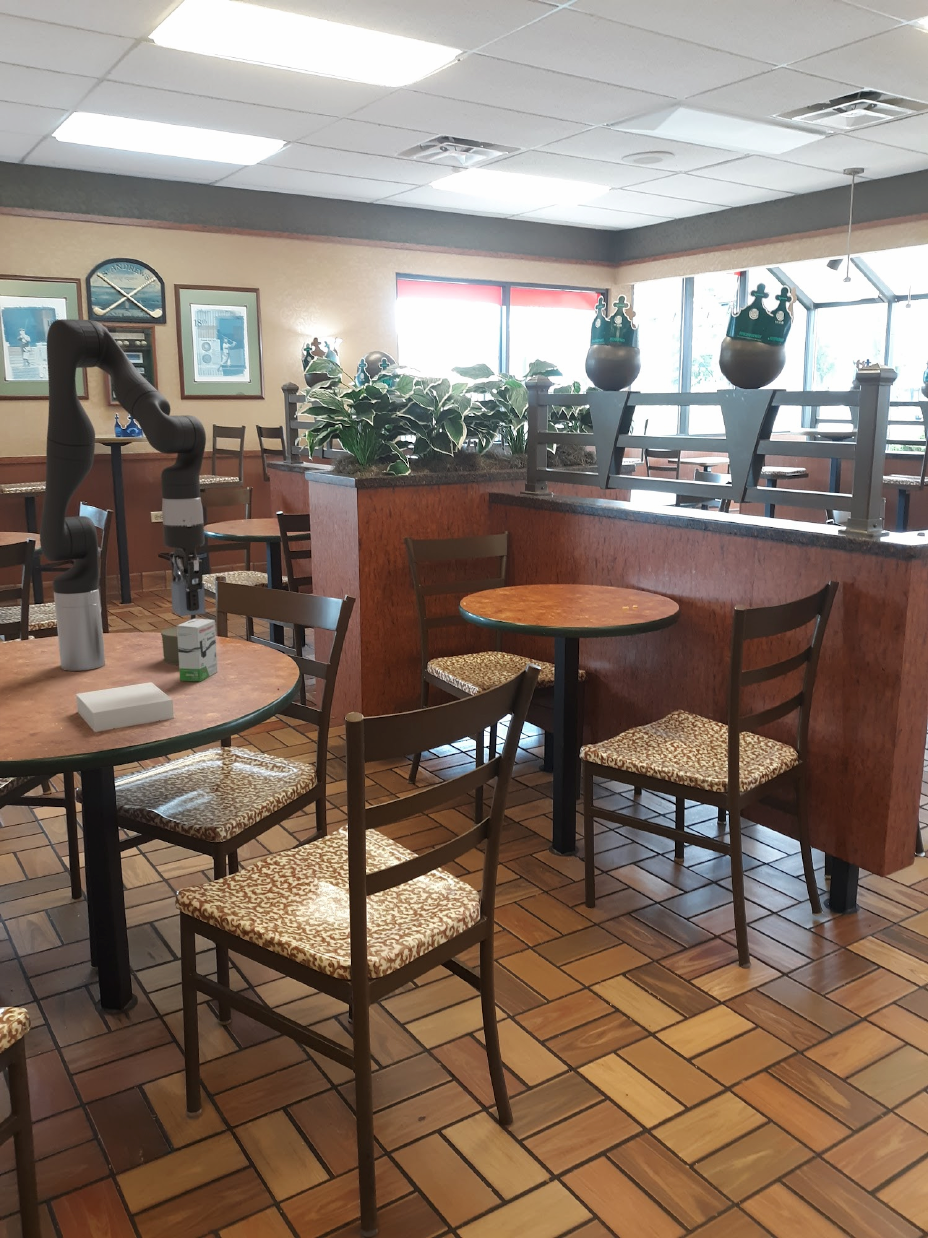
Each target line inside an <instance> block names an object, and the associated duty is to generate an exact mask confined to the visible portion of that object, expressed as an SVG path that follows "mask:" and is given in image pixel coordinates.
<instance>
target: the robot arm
mask: <svg viewBox="0 0 928 1238" xmlns="http://www.w3.org/2000/svg"><path fill="white" fill-rule="evenodd" d="M46 359H47V360H46V362H47V375H48V381H47V382H48V419H47V421H48V422H47V430H46V432H47V433H46V451H45V452H46V454H45V455H46V458H45V460H46V463H45V465H46V466H45V467H46V469H45V471H46V472H45V487H44V488H45V489H44V498H43V506H42V513H41V519H40V527H39V528H40V529H39V544H40V548H41V553H42V555H43V556H44V558H45V559H46V560H47V561H50V562H62V561H71V560H74V562H73V565H72V566H71V567H70V568H69V569H68V570H67V571H65V572H64V573H61V574H59V575H58V576H55V577H54V578H53V581H52V589H53V598H54V608H55V609H54V610H55V617H56V618H55V619H56V626H57V627H56V628H57V637H58V648H59V659H60V668H61V669H62V670H64V671H69V672H70V671H72V672H73V671H74V672H77V671H88V670H93V669H98V668H101V667H104V666H105V664H106V657H105V643H104V634H103V621H102V612H101V610H102V608H101V602H100V601H101V598H100V590H99V579H100V578H99V577H100V569H99V568H100V567H99V563H100V562H99V540H98V532H97V529H96V526H95V524H94V521H93V520H92V519H91V518H90V517H89V516H85V515H84V516H83V515H77V516H76V515H75V516H67V517H66V514H67V510H68V507H69V503H70V502H71V499H72V497H73V496H74V494H75V492H76V491H77V490H78V488H79V487H80V486H81V484H83V481H85V479H86V477H87V476H88V474H89V473H90V471H91V470H92V467H93V465H94V459H95V448H96V431H95V427H94V426H93V423H92V421H91V419H90V417H89V416H88V414H87V412H86V410H85V408H84V407H83V405H82V403H81V401H80V399H79V396H78V392H77V385H76V382H77V381H76V377H77V376H76V375H77V368H78V369H80V368H81V369H83V368H85V369H86V368H96V367H97V368H99V369H100V370H102V371H103V372H105V373H106V374H107V375H109V376H110V377H111V380H112V389H113V394H114V396H115V399H116V401H117V402H118V404H120V406H121V407H122V408H123V410H125V412H127V414H129V415H130V416H131V418H133V420H135V421H136V422H137V423H138V425H139V427H140V429H141V430H142V432H143V435H144V436H145V438H146V440H147V442H148V443H149V445H150V446H151V447H152V448H153V449H154V450H155V451H158V452H160V453H162V454H166V455H171V454H172V455H173V454H177V456H176V460H175V462H174V464H172V465H170V466H167V467H165V468H163V470H162V471H161V475H160V477H161V479H160V480H161V481H160V482H161V494H162V495H161V496H162V504H161V505H162V506H161V507H162V508H161V513H162V515H161V516H162V529H163V542H164V546H165V547H167V548H171V549H174V550H173V552H169V554H168V555H169V561H170V568H171V569H170V570H171V577H172V578H171V579H172V582H174V581H184V584H185V590H186V602H187V610H189V611H196V610H198V609H199V597H198V591H199V590H200V589H202V587H203V586H202V583H203V570H204V568H203V566H204V565H203V563H204V562H203V560H202V559H199V555H198V554H197V550H196V548H197V547H202V546H204V545H205V543H206V541H205V527H204V524H205V523H204V509H203V504H202V498H201V484H200V482H201V481H200V474H201V470H202V465H203V460H204V455H205V451H206V450H205V449H206V446H207V445H206V444H207V443H206V442H207V436H206V430H205V427H204V425H203V423H202V422H201V420H200V419H199V418H197V417H196V416H194V415H170V414H171V404H170V403H169V401H168V400H167V398H166V397H165V396H164V395H163V394H162V393H161V392H160V391H159V390H157V389H156V388H155V387H154V386H153V385H152V384H151V383H150V382H149V381H148V380H147V379H146V378H145V377H144V376H143V375H142V374H141V373H140V371H139V370H138V369H137V368H136V366H134V364H133V363H132V361H131V360H130V359H129V357H128V356H127V355H126V353H125V352H124V350H123V349H122V347H121V346H120V345H119V343H118V342H117V341H116V339H115V338H114V336H113V335H112V334H111V333H110V332H109V330H108V329H107V328H106V327H105V326H104V325H103V324H101V323H100V322H98V321H96V320H93V319H92V320H91V319H73V318H72V319H66V318H65V319H64V318H63V319H57V320H54V321H52V323H51V324H50V325H49V328H48V331H47V337H46ZM192 580H194V584H192Z"/></svg>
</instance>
